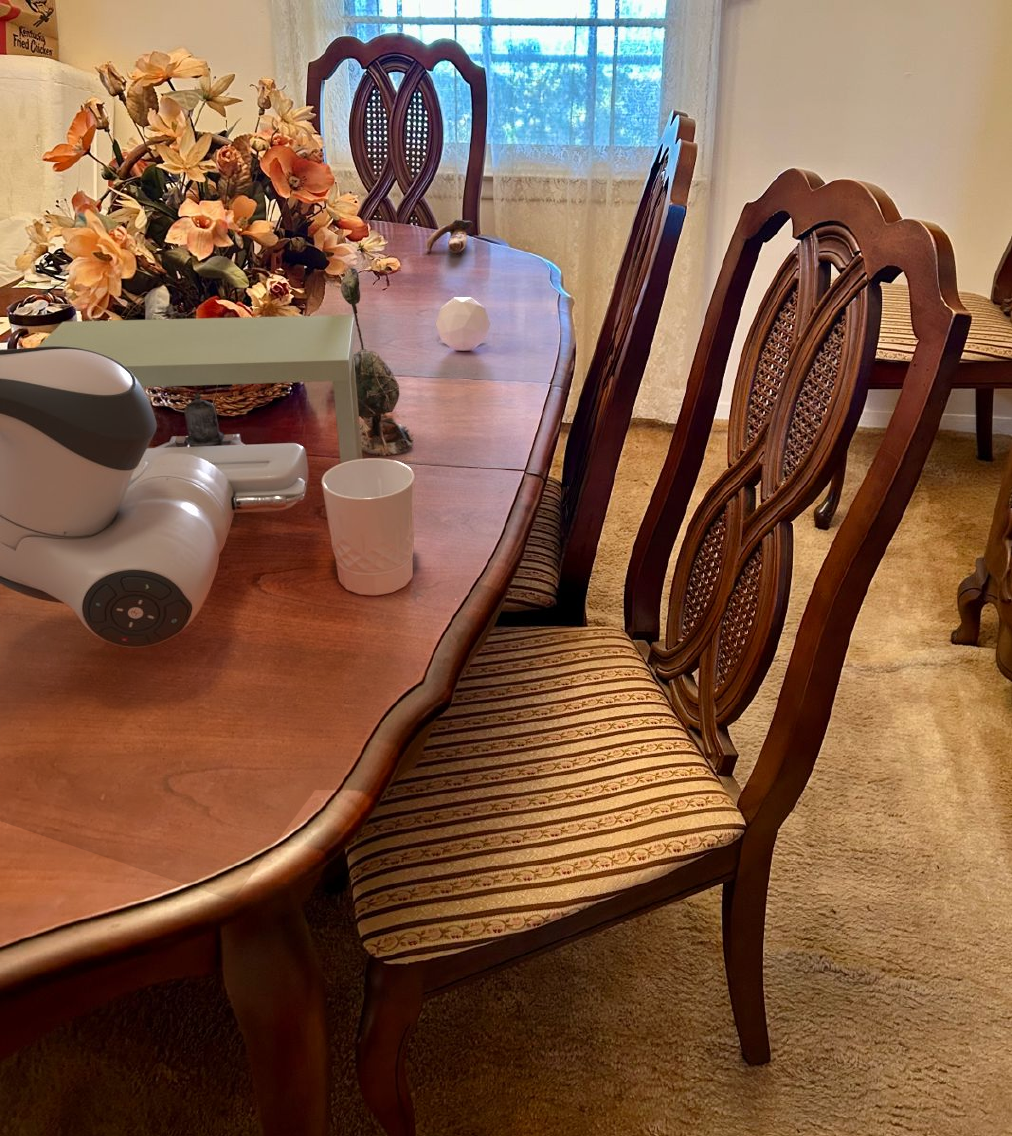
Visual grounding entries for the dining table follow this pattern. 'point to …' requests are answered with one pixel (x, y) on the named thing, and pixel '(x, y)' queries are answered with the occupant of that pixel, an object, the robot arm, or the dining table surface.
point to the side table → (233, 355)
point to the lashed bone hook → (452, 235)
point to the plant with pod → (375, 391)
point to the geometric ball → (462, 323)
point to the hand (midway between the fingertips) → (207, 442)
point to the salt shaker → (202, 424)
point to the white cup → (371, 523)
